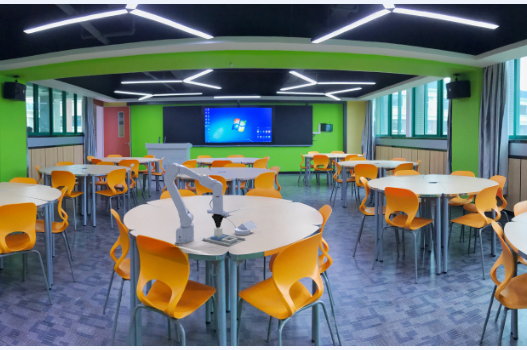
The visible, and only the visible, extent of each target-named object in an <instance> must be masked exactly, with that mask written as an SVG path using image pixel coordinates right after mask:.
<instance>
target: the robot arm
mask: <svg viewBox="0 0 527 350" xmlns="http://www.w3.org/2000/svg"><path fill="white" fill-rule="evenodd" d="M178 175H180V176H182V175H185V176H187V177H190V178H192V179H194V180H197V181H198V182H199V185H201V186H202V187H205V188H207V189H209V190H211V191H212V196H211V197H212V199H211V200H212V209H207V210H206V211H207V212H206V213H207V214H210V215H211V218H212V220H213V222H214V224H215V228H221V226H222V222H223V219H224V218H225V217H229V216H230V212H229V211H225V210H224V194H223V189H224V188H223V187H224V185H223V183H222V182H221V181H219V180H217V179H216V178H215V179H214V178H212V177H210V175H209V174H202V175H201V174H200V173H198V172H196V171H195V170H193V169H190V168H189V167H187V166H185V165H182V164H179V163H178V162H173V163H171V164H168V165H167V167H166V169H165V171H164V178H163V180H164V181H163V182H164V185H165V187H166V190H167V191H168V193H169V195H170V198H171V200H172V202H173V204H174V207H175V209H176V210H177V212H178V213H177V214H178V217H179V224H180V225H179V227H178V228H176V230H175V240H176V241H175V243H176V244H186V243H190V242H192V241H195V230H194V229H195V225H194V223H193V221H194V215H193V213H192V212H191V211H190V210H189V209H188V208H187V206H186V204H185V201H184V199H183V197H182V195H181V192H180V191H179V189H178V186H177V185H176V183H175V180H176V179H177V176H178Z"/></svg>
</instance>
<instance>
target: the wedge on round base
mask: <svg viewBox="0 0 527 350" xmlns="http://www.w3.org/2000/svg"><path fill="white" fill-rule="evenodd" d="M257 228H258V226H257V225H256V223H255V222H254V221H253V220H249V221H247V222H243V223H241V224H240V225H239V226H237V227H236V228H234V234H235V235H236V236H238V235H239V236H246V235H250V234H251V230H253V229H254V230H255V229H257Z"/></svg>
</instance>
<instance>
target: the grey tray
mask: <svg viewBox="0 0 527 350" xmlns="http://www.w3.org/2000/svg"><path fill="white" fill-rule="evenodd" d="M222 236H223V237H220V238H217V236H214V235H211V236H209V237H207V238H206V237H203V238H202V241H204V242H207V243H213V244H216V245H219V246H220V245H221V246H225V247H228V248H229V247H232V246H235V245H237V244H239V243H243V242H245V241H246V238H245V237H242V236H238V235H233V234H227V233H224V232H222Z"/></svg>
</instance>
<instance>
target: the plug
mask: <svg viewBox="0 0 527 350" xmlns="http://www.w3.org/2000/svg"><path fill="white" fill-rule="evenodd" d="M213 233H214V235H213V236H217V238H220V237H223V236H222V233H223V227H220V228H216V227H215V228H214V229H213Z"/></svg>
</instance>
